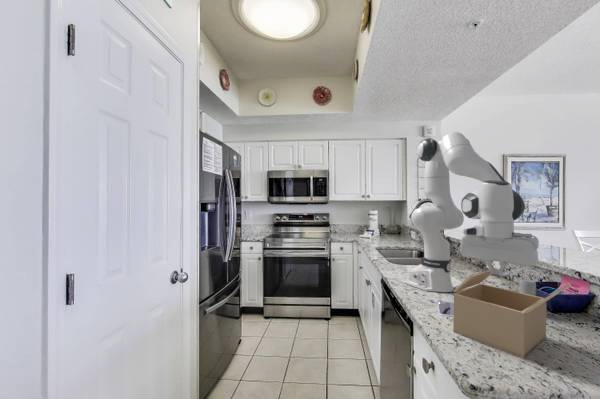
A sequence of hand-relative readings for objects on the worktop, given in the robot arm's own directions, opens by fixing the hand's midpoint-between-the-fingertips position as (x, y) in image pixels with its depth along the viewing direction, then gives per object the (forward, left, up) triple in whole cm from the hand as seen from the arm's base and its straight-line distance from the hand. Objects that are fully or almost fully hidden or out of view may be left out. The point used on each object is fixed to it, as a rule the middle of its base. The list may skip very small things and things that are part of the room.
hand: (496, 275), depth 87 cm
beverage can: (0, +30, -19) cm, 35 cm away
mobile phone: (-18, +8, -19) cm, 27 cm away
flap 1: (-6, 0, -3) cm, 6 cm away
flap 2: (+12, 0, -3) cm, 13 cm away
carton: (+1, 0, -18) cm, 18 cm away
